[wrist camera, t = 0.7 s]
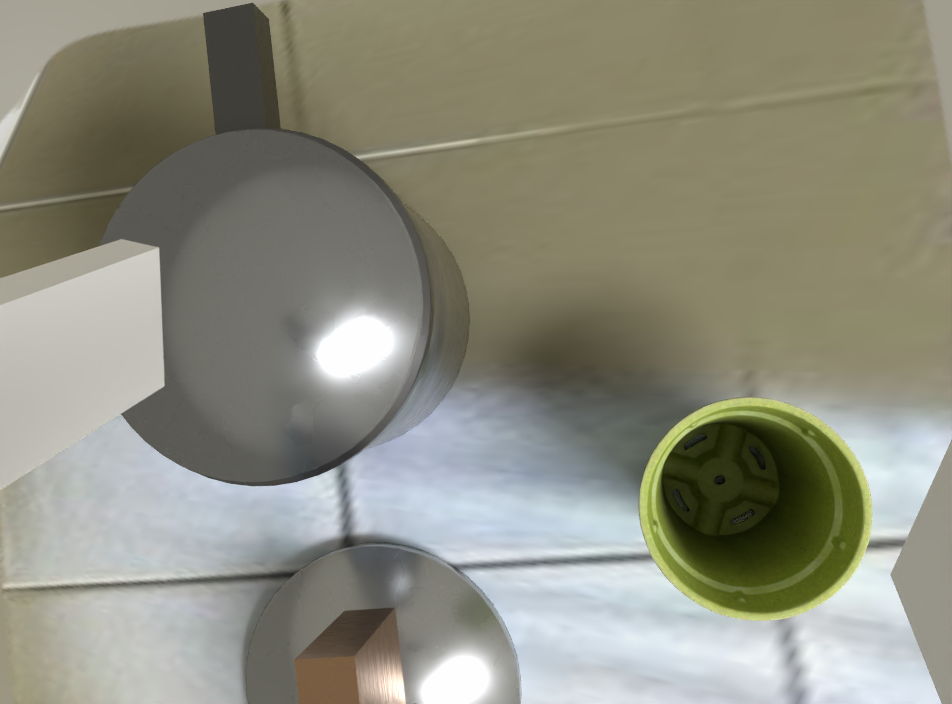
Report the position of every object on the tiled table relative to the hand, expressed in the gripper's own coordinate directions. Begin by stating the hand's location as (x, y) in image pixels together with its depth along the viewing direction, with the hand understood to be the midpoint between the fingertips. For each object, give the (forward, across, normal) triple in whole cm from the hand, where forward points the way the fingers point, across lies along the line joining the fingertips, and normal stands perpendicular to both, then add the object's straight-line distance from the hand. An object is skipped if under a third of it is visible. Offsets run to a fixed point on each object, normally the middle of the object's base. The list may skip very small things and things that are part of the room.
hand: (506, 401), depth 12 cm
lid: (+20, +7, +30) cm, 36 cm away
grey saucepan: (+28, +15, +9) cm, 33 cm away
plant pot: (+26, -8, +15) cm, 31 cm away
